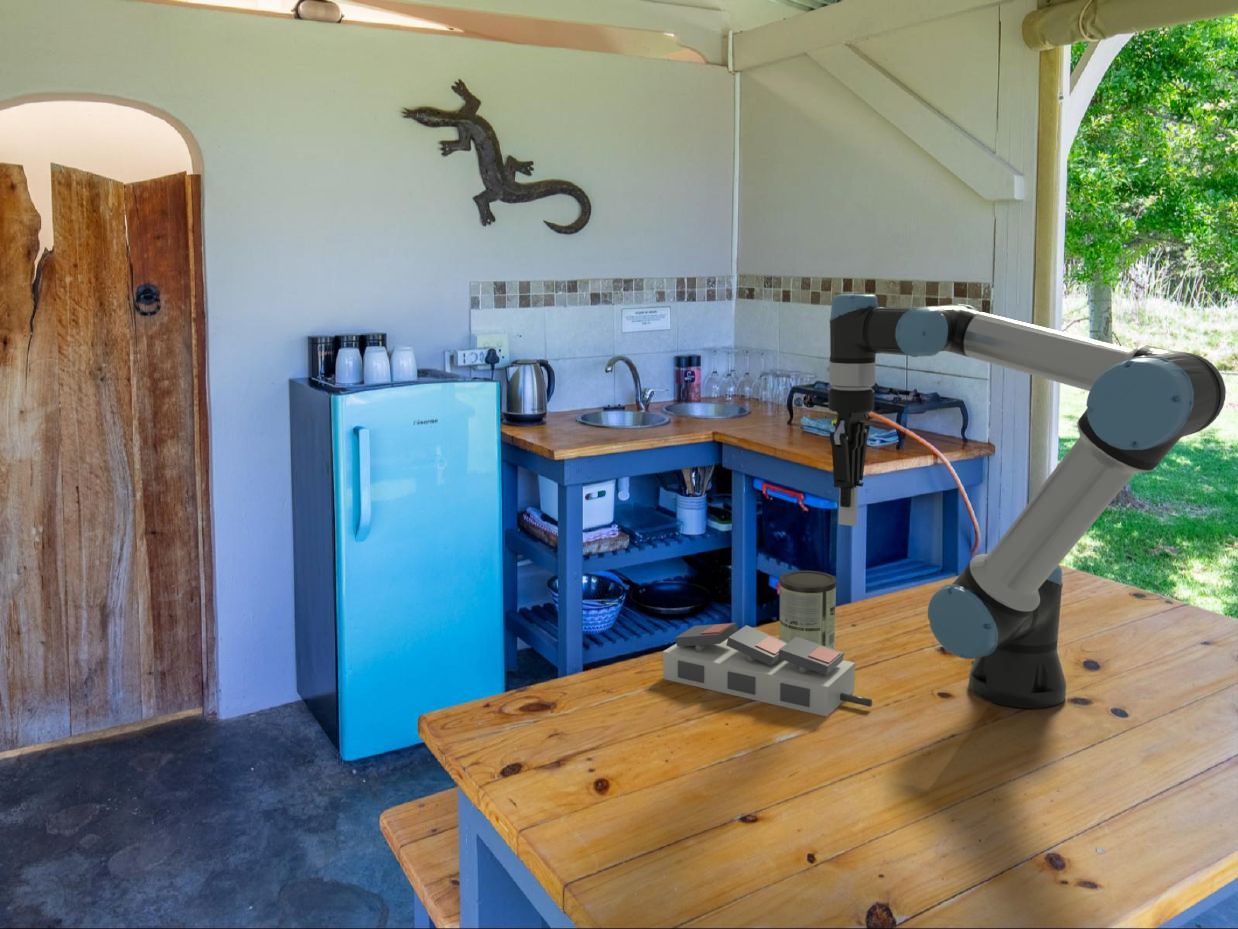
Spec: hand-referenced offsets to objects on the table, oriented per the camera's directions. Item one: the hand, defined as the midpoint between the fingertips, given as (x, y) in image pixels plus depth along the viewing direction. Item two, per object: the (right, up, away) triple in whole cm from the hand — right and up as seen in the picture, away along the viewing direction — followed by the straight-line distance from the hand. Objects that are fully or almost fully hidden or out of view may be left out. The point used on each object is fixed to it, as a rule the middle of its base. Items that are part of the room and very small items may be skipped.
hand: (847, 524), depth 181 cm
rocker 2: (-16, -21, -3) cm, 26 cm away
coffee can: (-5, -25, +14) cm, 29 cm away
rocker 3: (-8, -22, -8) cm, 24 cm away
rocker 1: (-24, -20, +3) cm, 31 cm away
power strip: (-14, -28, -3) cm, 31 cm away
